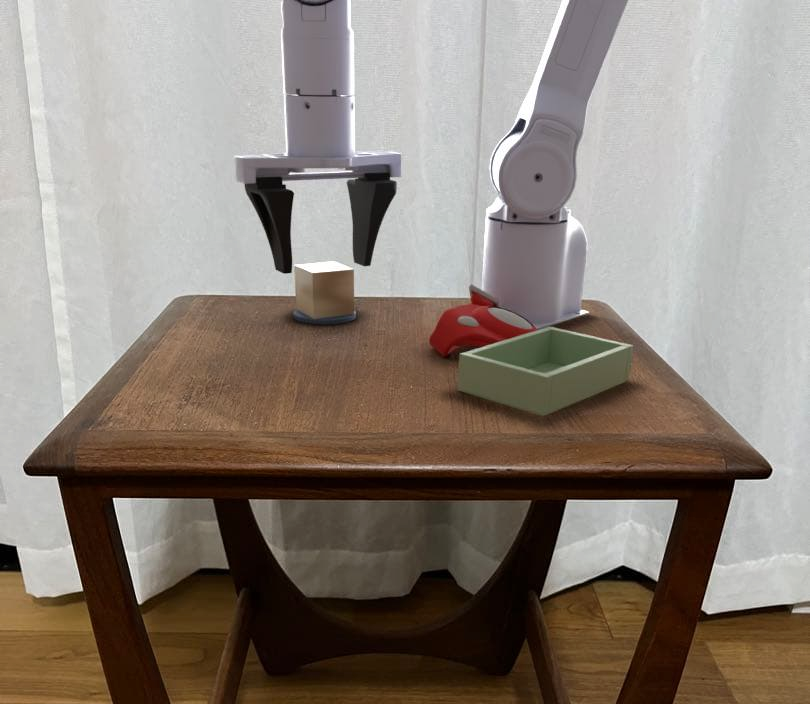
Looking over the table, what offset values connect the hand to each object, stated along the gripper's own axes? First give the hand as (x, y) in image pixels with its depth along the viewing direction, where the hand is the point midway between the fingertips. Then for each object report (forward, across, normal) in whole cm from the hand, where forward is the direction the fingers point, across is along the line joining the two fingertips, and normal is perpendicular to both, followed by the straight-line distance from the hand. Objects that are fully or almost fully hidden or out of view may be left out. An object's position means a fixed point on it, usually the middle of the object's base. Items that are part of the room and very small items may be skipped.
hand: (323, 267), depth 77 cm
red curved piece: (+4, +8, -15) cm, 18 cm away
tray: (+4, +5, -26) cm, 27 cm away
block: (+4, 0, 0) cm, 4 cm away
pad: (+4, 0, 0) cm, 4 cm away
